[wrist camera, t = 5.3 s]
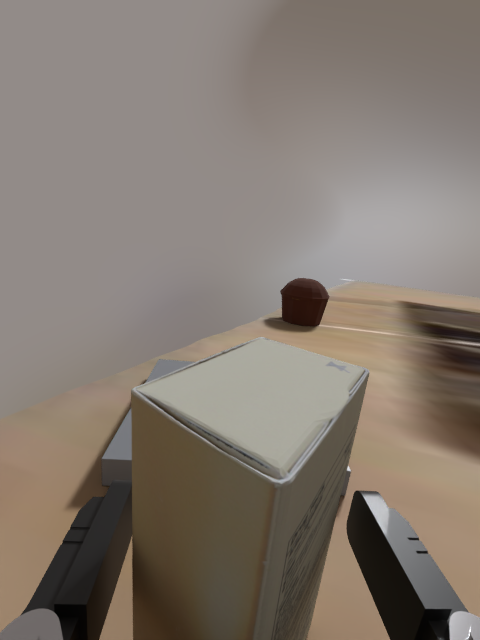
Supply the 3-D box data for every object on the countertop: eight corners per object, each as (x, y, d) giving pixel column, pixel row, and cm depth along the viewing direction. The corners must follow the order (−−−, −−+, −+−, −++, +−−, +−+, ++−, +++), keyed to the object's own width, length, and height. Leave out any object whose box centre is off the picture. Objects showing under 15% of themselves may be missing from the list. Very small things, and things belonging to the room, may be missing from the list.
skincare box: (234, 557, 15) (263, 332, 12) (314, 625, 12) (376, 365, 9) (120, 710, 10) (121, 380, 7) (219, 877, 7) (288, 479, 4)
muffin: (321, 331, 61) (330, 284, 59) (271, 321, 65) (277, 277, 62) (326, 320, 72) (333, 280, 70) (283, 312, 76) (288, 274, 73)
